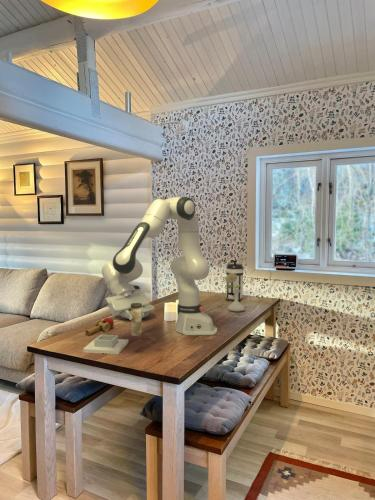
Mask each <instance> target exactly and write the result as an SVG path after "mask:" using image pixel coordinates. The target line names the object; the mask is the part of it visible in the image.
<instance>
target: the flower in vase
mask: <svg viewBox="0 0 375 500" xmlns="http://www.w3.org/2000/svg"><path fill="white" fill-rule="evenodd" d="M236 279H237V275H236V274H235V275H234V273H232V274H231V273H230V274H228V275H227V274H226V277H225V280H226V282H229V283H232V284H233V282H235V280H236ZM232 287H234V286H232V285H229V286H227V288H232ZM239 287H240V285H238V286H236V287H234V288H239ZM233 291H234V295H235V300H233V302H231V303H230V304H229V305H228V306H227V310H229V311H231V312H235V313H236V312H237V313H239V312H244V311H245V309H246V308H245V306H244V305H243V304H242V303H241V302H239V301H238V294H239V292H240V290H237V289H235V290H233Z"/></svg>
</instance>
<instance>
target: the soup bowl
mask: <svg viewBox="0 0 375 500" xmlns="http://www.w3.org/2000/svg"><path fill="white" fill-rule="evenodd" d="M154 310H155V306H154V305H152V304H149V305H148V306H147V307H146V308H143V313H144V316H143V317H142V319H144V318H146V317H147V316H149V315H150V313H152V311H154ZM129 313H130V314H131V311H130V312H129ZM118 315H119V316H121V318H124V319H127V320H129V318H128V317H127V316H125V315H124V314H123V313H121V314H118Z"/></svg>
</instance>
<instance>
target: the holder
mask: <svg viewBox="0 0 375 500" xmlns="http://www.w3.org/2000/svg"><path fill="white" fill-rule="evenodd" d="M128 344H129V339H123V338H119V335H117V334H115V335H113V334H100V335H99V336H97V337H95V338H94V339H93V340H91V342H90V343H88V344H87V345H86V346H84V348H83V349H82V353H86V354H87V353H88V354H89V353H90V354H102V353H104V355H105V353H106V355H119V354H120V353H121V352H122V351H123V350H124V348H125V347H126V346H127V345H128Z"/></svg>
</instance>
